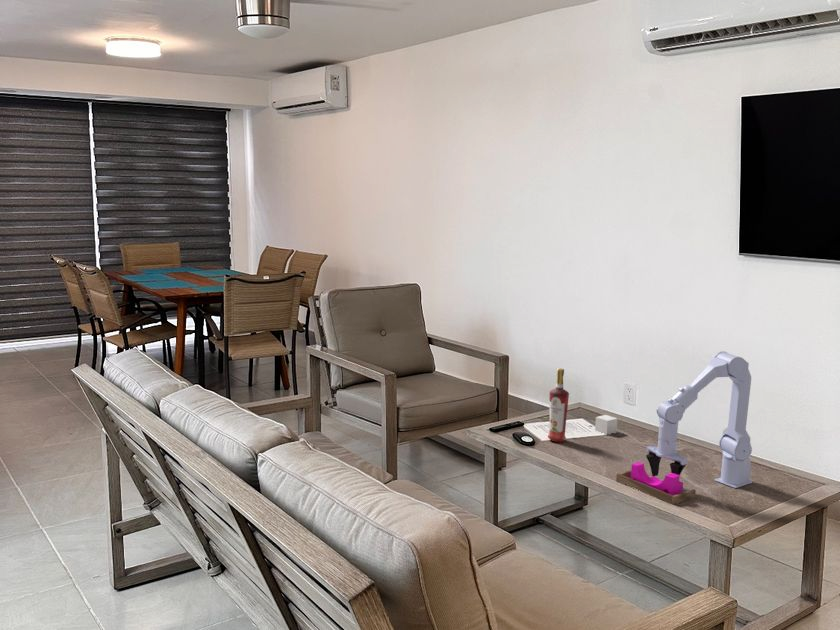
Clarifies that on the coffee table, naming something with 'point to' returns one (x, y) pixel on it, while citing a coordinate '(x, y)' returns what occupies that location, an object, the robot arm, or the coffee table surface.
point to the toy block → (657, 480)
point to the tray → (626, 479)
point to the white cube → (606, 424)
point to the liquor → (558, 409)
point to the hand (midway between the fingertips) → (664, 479)
